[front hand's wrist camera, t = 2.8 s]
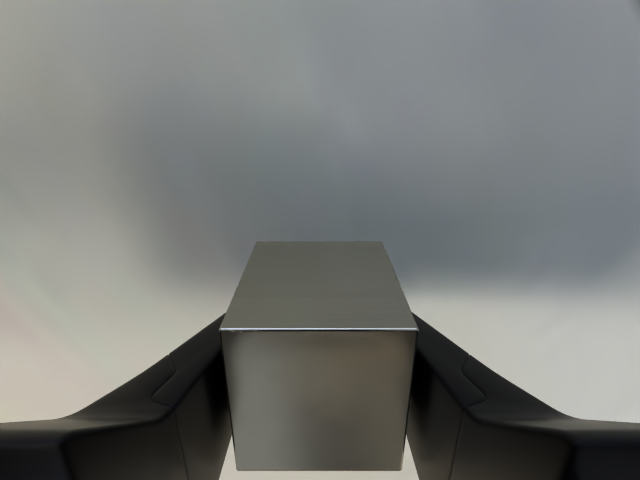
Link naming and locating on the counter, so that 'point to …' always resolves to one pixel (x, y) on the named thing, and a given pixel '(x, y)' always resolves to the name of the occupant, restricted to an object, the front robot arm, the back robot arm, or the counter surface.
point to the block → (319, 359)
